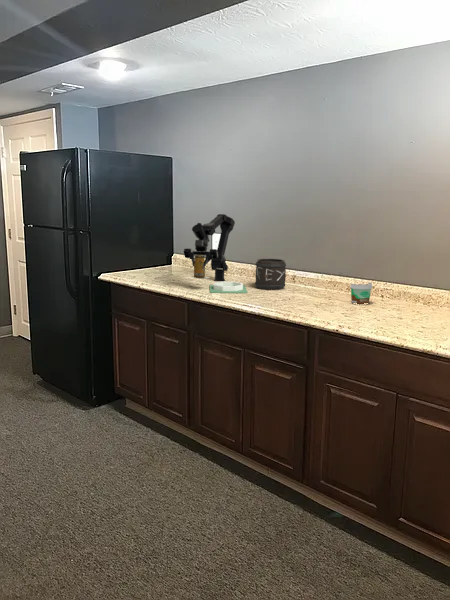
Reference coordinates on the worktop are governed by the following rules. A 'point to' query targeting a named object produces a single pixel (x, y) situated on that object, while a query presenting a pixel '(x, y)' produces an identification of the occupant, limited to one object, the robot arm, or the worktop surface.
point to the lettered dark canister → (270, 274)
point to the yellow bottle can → (199, 267)
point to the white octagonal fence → (228, 286)
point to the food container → (360, 293)
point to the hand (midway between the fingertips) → (198, 265)
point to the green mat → (227, 291)
